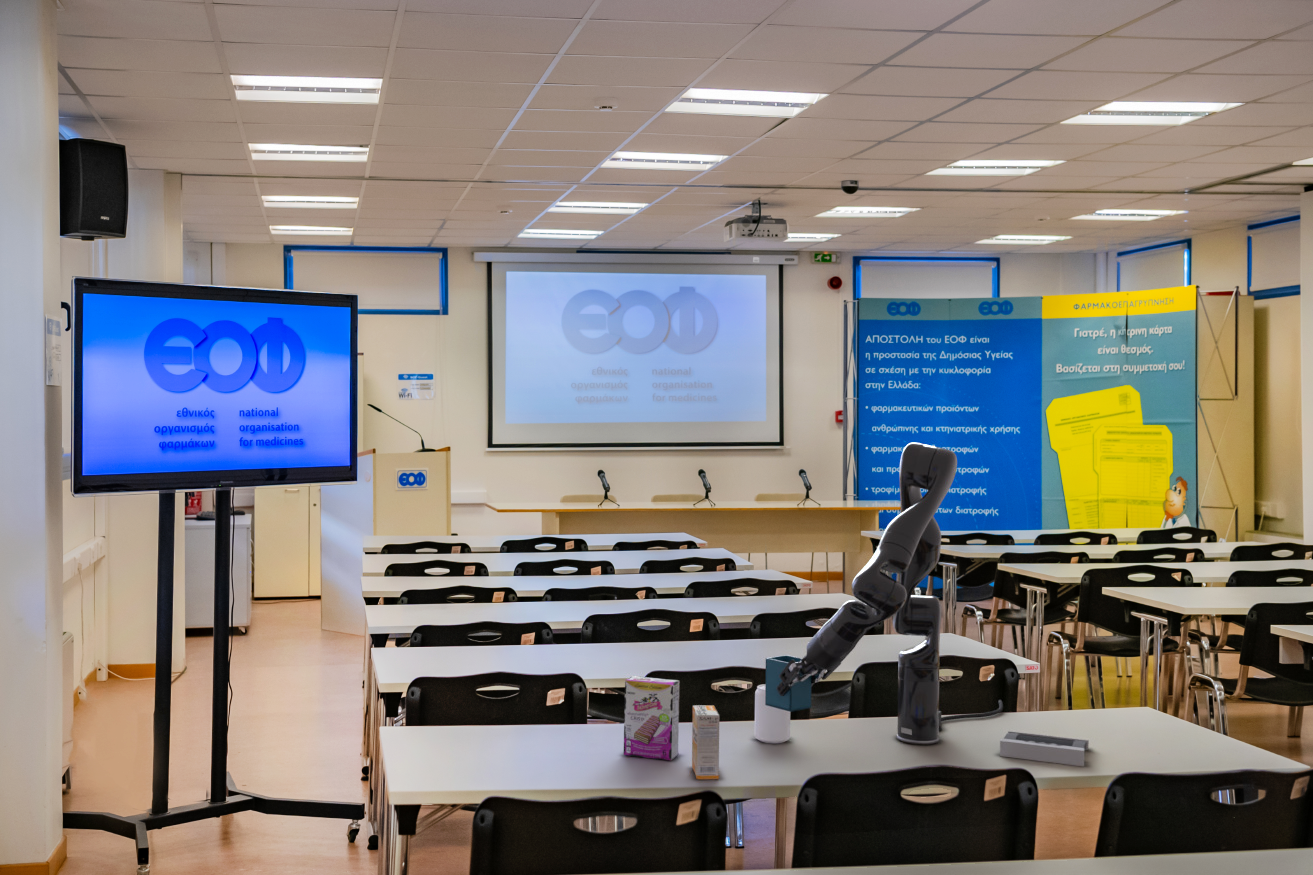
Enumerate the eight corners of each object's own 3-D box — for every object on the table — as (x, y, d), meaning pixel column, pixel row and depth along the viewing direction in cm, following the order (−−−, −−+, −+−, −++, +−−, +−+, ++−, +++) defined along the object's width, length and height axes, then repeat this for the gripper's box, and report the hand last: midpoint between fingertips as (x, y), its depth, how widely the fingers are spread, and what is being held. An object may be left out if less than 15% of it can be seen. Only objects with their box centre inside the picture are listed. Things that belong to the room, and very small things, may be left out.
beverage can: (788, 745, 247) (789, 691, 247) (752, 742, 248) (753, 689, 248) (791, 736, 255) (792, 684, 255) (756, 733, 256) (757, 682, 256)
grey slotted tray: (1000, 740, 240) (1009, 718, 255) (1000, 761, 241) (1009, 738, 255) (1083, 750, 233) (1088, 727, 248) (1083, 771, 233) (1088, 747, 248)
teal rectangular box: (765, 657, 234) (790, 663, 228) (786, 654, 238) (811, 660, 232) (765, 704, 234) (790, 711, 228) (786, 701, 238) (811, 707, 232)
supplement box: (690, 767, 228) (691, 704, 228) (713, 767, 228) (714, 704, 228) (695, 779, 220) (696, 714, 220) (719, 779, 220) (720, 714, 220)
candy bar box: (622, 755, 236) (623, 679, 236) (630, 750, 241) (631, 675, 241) (671, 761, 232) (673, 683, 233) (679, 755, 237) (680, 679, 237)
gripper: (818, 661, 217) (775, 709, 226) (866, 653, 226) (823, 701, 235) (799, 630, 221) (757, 679, 230) (847, 624, 230) (805, 672, 239)
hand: (791, 690), depth 232 cm, fingers closed on teal rectangular box, 6 cm apart
